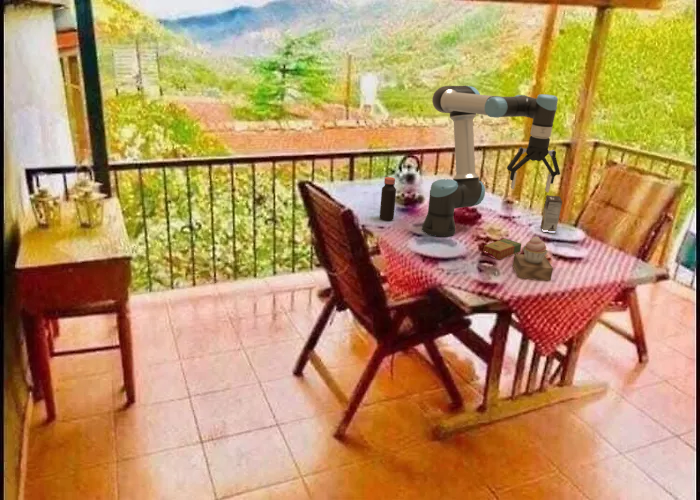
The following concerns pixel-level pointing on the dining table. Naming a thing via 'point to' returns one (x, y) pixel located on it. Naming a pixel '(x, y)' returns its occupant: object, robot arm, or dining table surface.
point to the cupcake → (535, 250)
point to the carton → (503, 248)
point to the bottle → (388, 200)
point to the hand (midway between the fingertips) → (529, 189)
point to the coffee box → (551, 213)
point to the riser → (532, 268)
